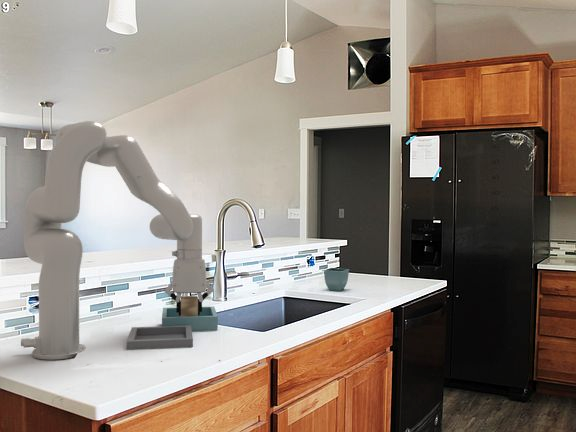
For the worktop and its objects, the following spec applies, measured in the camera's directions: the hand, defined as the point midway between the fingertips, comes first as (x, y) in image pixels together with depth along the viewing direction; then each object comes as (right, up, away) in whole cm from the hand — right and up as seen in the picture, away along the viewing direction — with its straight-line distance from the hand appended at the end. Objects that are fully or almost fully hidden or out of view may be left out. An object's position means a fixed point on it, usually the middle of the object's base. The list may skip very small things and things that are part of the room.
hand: (189, 314), depth 177 cm
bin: (-4, -5, -19) cm, 20 cm away
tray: (0, -4, 0) cm, 4 cm away
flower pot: (+51, -3, +77) cm, 93 cm away
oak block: (0, -1, 0) cm, 1 cm away
